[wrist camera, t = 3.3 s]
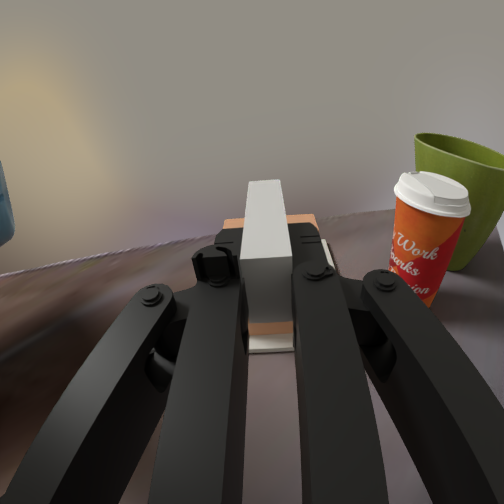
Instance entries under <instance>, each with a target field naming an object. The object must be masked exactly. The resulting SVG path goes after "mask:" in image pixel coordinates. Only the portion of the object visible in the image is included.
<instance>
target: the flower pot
mask: <svg viewBox="0 0 504 504" xmlns="http://www.w3.org/2000/svg"><path fill="white" fill-rule="evenodd" d="M414 138H415V164H416V172H420V171H425V172H431V173H435V174H439V175H442V176H445V177H448V178H450V179H453V180H455V181H457V182H458V183H460V184H461V185H463V186H464V187H465V188H466V189H467V190H468V198H469V203H470V206H471V211H470V215H468V216H466V217H465V220H464V223H463V226H462V229H461V232H460V235H459V238H458V241H457V244H456V247H455V249H454V252H453V255H452V257H451V260H450V263H449V265H448V268H447V270H449V271H458V270H461V269H463V268H464V267H465V266H466V265H467V264H468V263H469V262H470V261H471V259H472V258H473V257H474V256H475V255H476V253H477V252H478V251H479V250H480V248H481V247H482V246H483V244H484V243H485V241H486V240H487V239H488V237H489V236H490V234H491V232H492V231H493V229H494V228H495V226H496V224H497V222H498V220H499V219H500V217H501V215H502V213H503V211H504V155H502V154H500V153H499V152H496V151H494V150H492V149H490V148H487V147H485V146H482V145H480V144H477V143H474V142H471V141H467V140H464V139H461V138H456V137H452V136H447V135H442V134H435V133H419V134H416V135H415V136H414Z"/></svg>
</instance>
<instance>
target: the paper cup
mask: <svg viewBox="0 0 504 504" xmlns="http://www.w3.org/2000/svg"><path fill="white" fill-rule="evenodd" d="M394 192H395V194H396V196H397V198H396V211H395V222H394V231H393V239H392V247H391V255H390V262H389V268H388V270H389V271H392V272H394V273H396V274H398V275H399V276H400V277H401V278H403V280H404V281H405V282H406V283H407V284H408V285H409V286H410V287H411V288H412V290H413V291H414V292H415V293H416V294H417V295H418V296H419V297H420V299H421V300H422V301H423V302H424V303H425V304H426V306H427V307H428V308H429V307H430V305H431V303H432V301H433V299H434V297H435V295H436V293H437V291H438V289H439V286H440V284H441V282H442V280H443V277H444V275H445V272H446V270H447V268H448V265H449V263H450V260H451V257H452V255H453V252H454V249H455V247H456V244H457V241H458V238H459V235H460V232H461V229H462V226H463V223H464V220H465V217H466V216H468V215H470V211H471V206H470V203H469V198H468V190H467V189H466V188H465V187H464V186H463V185H461V184H460V183H458V182H457V181H455V180H453V179H450V178H448V177H445V176H442V175H439V174H435V173H431V172H425V171H420V172H409V173H408V174H407V173H403V174H402V175H401V176H400V179H399V182H398V183H397V184H396V185H395V187H394Z"/></svg>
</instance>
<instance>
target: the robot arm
mask: <svg viewBox="0 0 504 504" xmlns="http://www.w3.org/2000/svg"><path fill="white" fill-rule="evenodd" d="M14 231H15V223H14V217H13V213H12V208H11V203H10V199H9V194H8V190H7V185H6V181H5V176H4V172H3V168H2V164H1V161H0V247H1V246H2V245H4V244H5V243H6V242H8V241H9V240H11V239H12V237H13V235H14ZM192 262H193V266H194V270H195V274H196V278H197V283H196V286H194V287H192V288H189V289H186V290H183V291H179V292H175V293H173V292H172V290H171V289H170V288H169V286H167V285H164V284H152V285H148V286H146V287H144V288H142V289H140V290H139V291H138V292H137V293H136V294H135V295H134V296H133V298H132V299H131V300H130V301H129V303H128V304H127V305H126V306H125V308H124V309H123V310H122V312H121V313H120V314H119V316H118V317H117V318H116V319H115V321H114V322H113V323H112V325H111V326H110V327H109V329H108V330H107V331H106V333H105V334H104V336H103V337H102V338H101V340H100V341H99V342H98V344H97V345H96V346H95V348H94V349H93V351H92V352H91V353H90V355H89V356H88V358H87V359H86V360H85V362H84V363H83V365H82V366H81V368H80V369H79V370H78V372H77V373H76V375H75V376H74V378H73V379H72V381H71V382H70V384H69V385H68V387H67V388H66V390H65V391H64V393H63V394H62V396H61V397H60V399H59V400H58V402H57V403H56V405H55V406H54V408H53V410H52V411H51V413H50V414H49V416H48V417H47V419H46V421H45V422H44V424H43V426H42V427H41V429H40V431H39V432H38V434H37V436H36V437H35V439H34V441H33V442H32V444H31V446H30V447H29V449H28V451H27V453H26V455H25V456H24V458H23V460H22V462H21V464H20V465H19V467H18V469H17V471H16V473H15V475H14V477H13V479H12V480H11V482H10V484H9V486H8V488H7V490H6V492H5V494H4V495H3V496H2V497H0V504H118V503H119V501H120V499H121V497H122V495H123V493H124V491H125V489H126V487H127V485H128V483H129V481H130V479H131V476H132V474H133V472H134V470H135V468H136V466H137V464H138V462H139V460H140V458H141V456H142V454H143V452H144V450H145V448H146V446H147V444H148V442H149V440H150V438H151V436H152V434H153V432H154V430H155V428H156V426H157V424H158V422H159V420H160V418H161V416H162V414H163V412H164V410H165V414H164V418H163V423H162V428H161V433H160V438H159V443H158V448H157V453H156V459H155V464H154V470H153V475H152V481H151V487H150V493H149V499H148V504H242V489H243V468H244V447H245V425H246V404H247V382H248V360H249V338H250V335H249V329H248V317H249V323H250V324H251V323H272V322H289V321H293V347H294V352H295V365H296V379H297V394H298V410H299V427H300V448H301V473H302V504H389V501H388V492H387V485H386V477H385V470H384V464H383V458H382V452H381V446H380V440H379V435H378V429H377V424H376V419H375V414H374V409H373V405H372V400H371V395H370V391H369V387H368V382H367V378H366V374H365V370H366V372H367V374H368V376H369V378H370V379H371V381H372V383H373V385H374V387H375V389H376V390H377V392H378V394H379V396H380V398H381V400H382V402H383V404H384V405H385V407H386V409H387V411H388V413H389V415H390V417H391V419H392V421H393V423H394V424H395V426H396V428H397V430H398V432H399V434H400V436H401V438H402V440H403V442H404V444H405V446H406V448H407V450H408V452H409V454H410V456H411V458H412V460H413V462H414V464H415V466H416V468H417V470H418V472H419V474H420V477H421V479H422V481H423V483H424V485H425V487H426V489H427V491H428V494H429V496H430V498H431V500H432V502H433V504H504V409H503V407H502V406H501V404H500V402H499V401H498V399H497V398H496V396H495V395H494V393H493V392H492V390H491V389H490V387H489V386H488V384H487V383H486V381H485V380H484V379H483V377H482V376H481V374H480V373H479V372H478V370H477V369H476V367H475V366H474V365H473V363H472V362H471V361H470V359H469V358H468V357H467V355H466V354H465V353H464V351H463V350H462V349H461V347H460V346H459V345H458V343H457V342H456V341H455V340H454V338H453V337H452V336H451V335H450V333H449V332H448V331H447V330H446V328H445V327H444V326H443V325H442V323H441V322H440V321H439V320H438V319H437V317H436V316H435V315H434V314H433V313H432V311H431V310H430V309H429V308H428V307H427V306H426V304H425V303H424V302H423V301H422V300H421V299H420V297H419V296H418V295H417V294H416V293H415V292H414V291H413V290H412V288H411V287H410V286H409V285H408V284H407V283H406V282H405V281H404V280H403V278H401V277H400V276H399V275H398V274H396V273H394V272H392V271H389V270H383V269H379V270H373V271H371V272H368V273H367V274H366V275H365V276H364V278H363V281H361V280H354V279H349V278H344V277H342V276H340V275H338V274H337V272H336V270H335V269H334V267H333V266H331V265H330V264H329V263H328V260H327V257H326V254H325V250H324V247H323V244H322V241H321V238H320V235H319V232H318V229H317V228H316V227H315V226H314V225H313V224H312V223H310V222H304V223H287V219H286V213H285V208H284V201H283V195H282V190H281V183H280V180H279V179H278V180H264V181H250V182H249V186H248V195H247V203H246V211H245V219H244V227H241V228H227V229H222V230H221V231H220V232H219V233H218V234H217V235H216V238H215V242H214V245H210V246H207V247H204V248H202V249H200V250H198V251H197V252H196V253H195V254H194V255H193V257H192ZM364 369H365V370H364ZM165 408H166V409H165Z"/></svg>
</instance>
